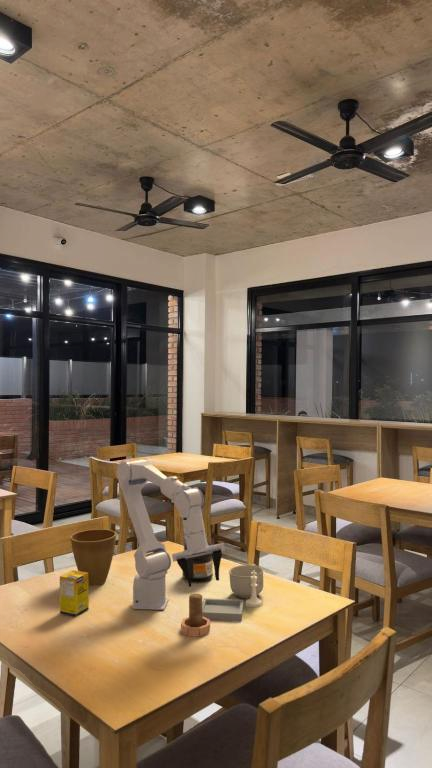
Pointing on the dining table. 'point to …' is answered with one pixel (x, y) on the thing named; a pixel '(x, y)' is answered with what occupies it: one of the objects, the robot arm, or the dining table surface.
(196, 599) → the dowel
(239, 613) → the tray
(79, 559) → the plant pot
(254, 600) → the chess piece
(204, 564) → the supplement container
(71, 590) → the supplement box
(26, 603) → the dining table surface
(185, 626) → the ring holder
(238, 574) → the teacup
